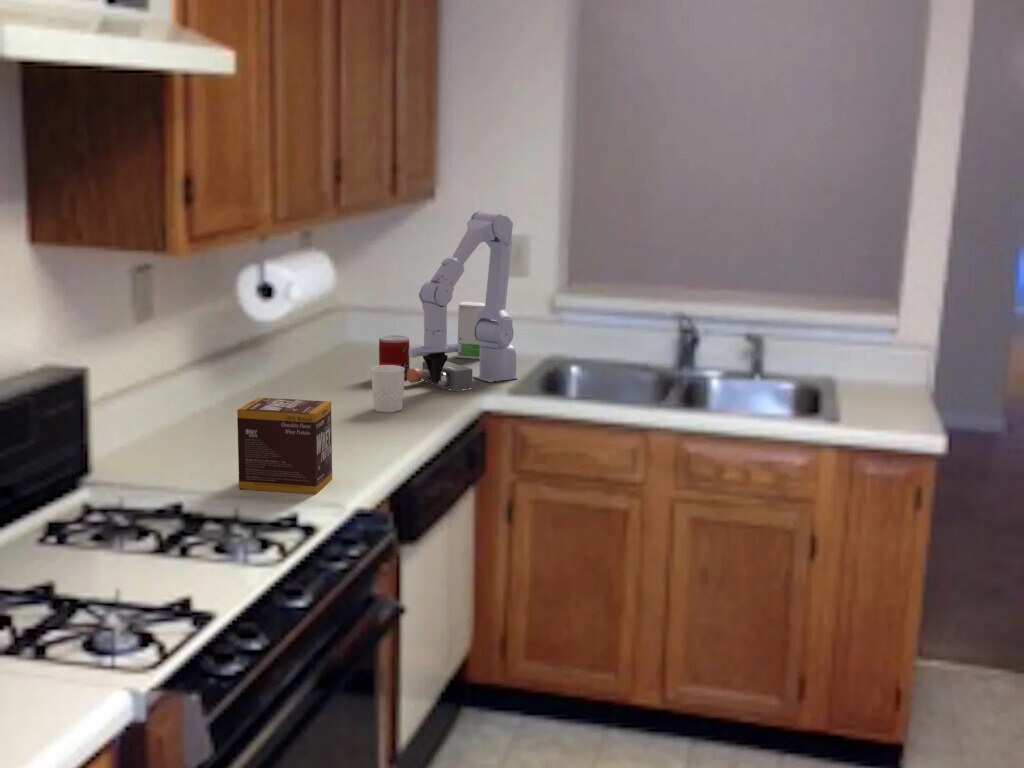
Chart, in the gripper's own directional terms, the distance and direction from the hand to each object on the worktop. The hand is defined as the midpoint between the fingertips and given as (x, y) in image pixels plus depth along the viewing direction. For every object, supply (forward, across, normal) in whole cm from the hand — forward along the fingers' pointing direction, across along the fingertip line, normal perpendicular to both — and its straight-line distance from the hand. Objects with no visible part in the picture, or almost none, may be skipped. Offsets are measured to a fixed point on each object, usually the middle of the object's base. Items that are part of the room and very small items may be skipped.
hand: (435, 382), depth 322 cm
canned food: (+2, +1, -18) cm, 18 cm away
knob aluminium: (+1, -5, 0) cm, 5 cm away
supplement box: (+3, +67, +53) cm, 86 cm away
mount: (+2, -6, -4) cm, 8 cm away
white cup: (+2, +20, +11) cm, 23 cm away
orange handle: (+1, -1, -8) cm, 8 cm away
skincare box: (+2, -33, -32) cm, 46 cm away
